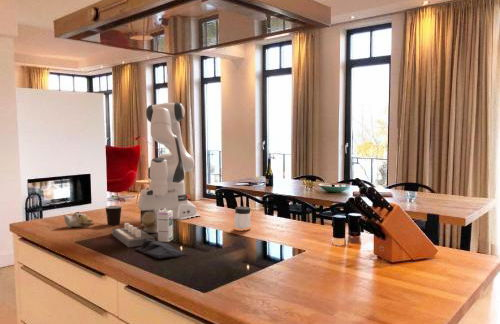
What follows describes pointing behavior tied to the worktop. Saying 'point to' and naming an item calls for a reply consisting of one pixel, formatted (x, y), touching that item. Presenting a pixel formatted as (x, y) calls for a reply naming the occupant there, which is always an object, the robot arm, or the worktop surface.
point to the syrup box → (165, 225)
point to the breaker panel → (130, 237)
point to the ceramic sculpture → (77, 220)
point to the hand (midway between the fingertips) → (158, 217)
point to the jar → (242, 217)
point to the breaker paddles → (132, 230)
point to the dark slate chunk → (158, 249)
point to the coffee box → (149, 221)
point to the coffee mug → (113, 215)
